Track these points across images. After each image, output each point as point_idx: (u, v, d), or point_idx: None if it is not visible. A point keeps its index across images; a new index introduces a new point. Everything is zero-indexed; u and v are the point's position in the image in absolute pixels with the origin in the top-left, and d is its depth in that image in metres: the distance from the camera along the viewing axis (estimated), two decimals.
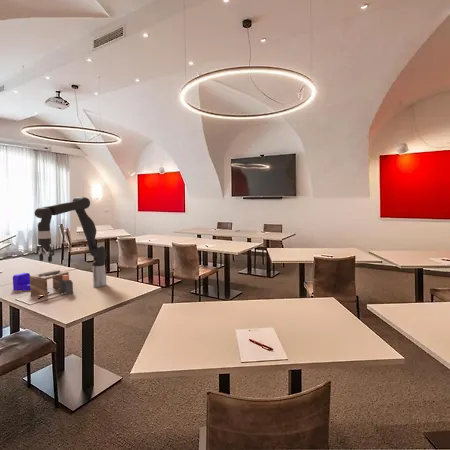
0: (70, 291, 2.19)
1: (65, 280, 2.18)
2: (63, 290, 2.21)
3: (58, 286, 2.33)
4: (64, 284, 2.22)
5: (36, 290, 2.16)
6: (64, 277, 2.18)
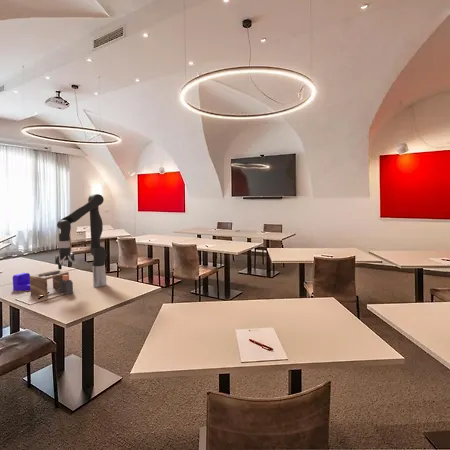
0: (70, 291, 2.19)
1: (65, 280, 2.18)
2: (63, 290, 2.21)
3: (58, 286, 2.33)
4: (64, 284, 2.22)
5: (36, 290, 2.16)
6: (64, 277, 2.18)
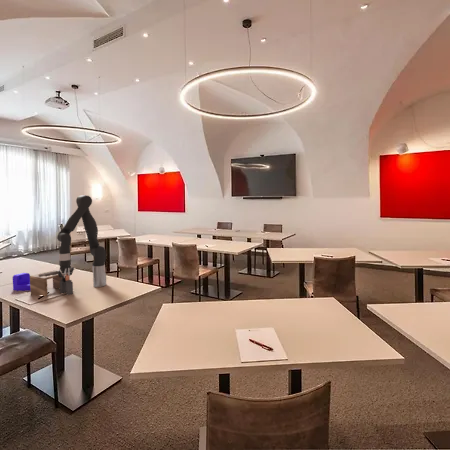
0: (70, 291, 2.19)
1: None
2: (63, 290, 2.21)
3: (58, 286, 2.33)
4: (64, 284, 2.22)
5: (36, 290, 2.16)
6: None
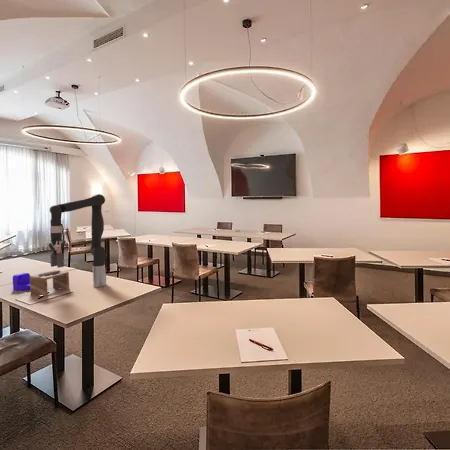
0: (61, 264, 2.18)
1: None
2: (54, 263, 2.21)
3: (58, 286, 2.33)
4: (55, 257, 2.21)
5: (36, 290, 2.16)
6: None
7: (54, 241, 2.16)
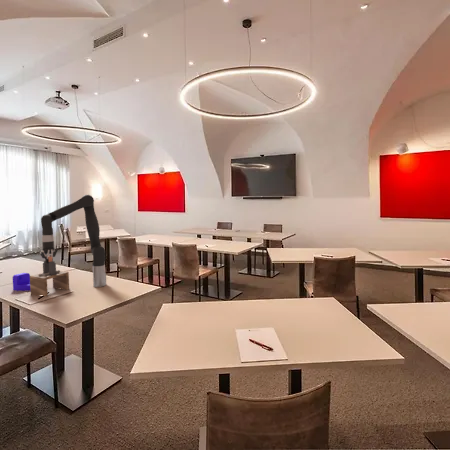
0: (53, 272, 2.22)
1: None
2: (46, 271, 2.24)
3: (58, 286, 2.33)
4: (47, 265, 2.25)
5: (36, 290, 2.16)
6: None
7: (46, 250, 2.19)
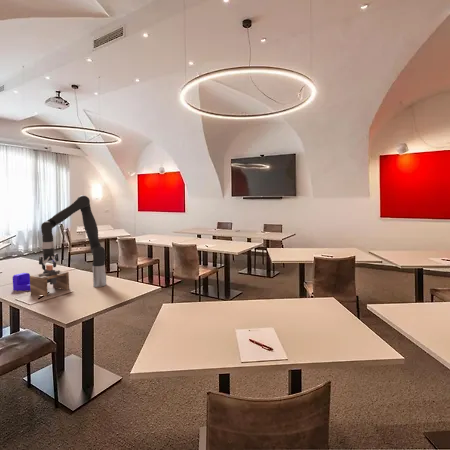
0: (53, 281, 2.22)
1: (48, 270, 2.22)
2: (47, 280, 2.24)
3: (58, 286, 2.33)
4: None
5: (36, 290, 2.16)
6: (48, 267, 2.22)
7: (46, 257, 2.20)
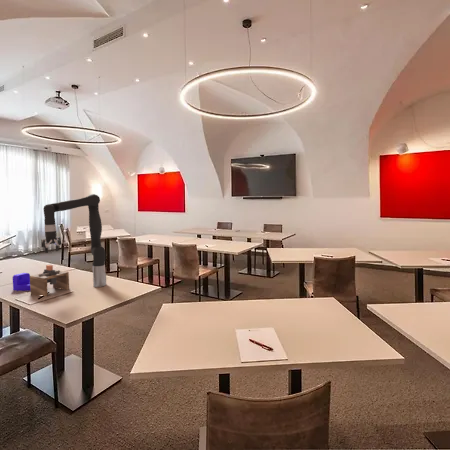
0: (53, 281, 2.22)
1: (48, 270, 2.22)
2: (47, 280, 2.25)
3: (58, 286, 2.33)
4: None
5: (36, 290, 2.16)
6: (48, 267, 2.22)
7: (49, 240, 2.18)
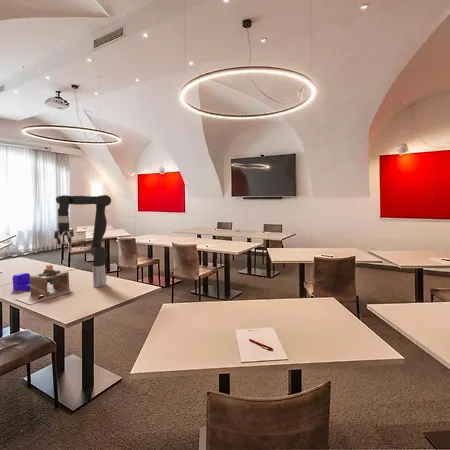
0: (53, 281, 2.22)
1: (49, 270, 2.22)
2: (47, 280, 2.25)
3: (58, 286, 2.33)
4: None
5: (36, 290, 2.16)
6: (48, 267, 2.22)
7: (61, 231, 2.15)
